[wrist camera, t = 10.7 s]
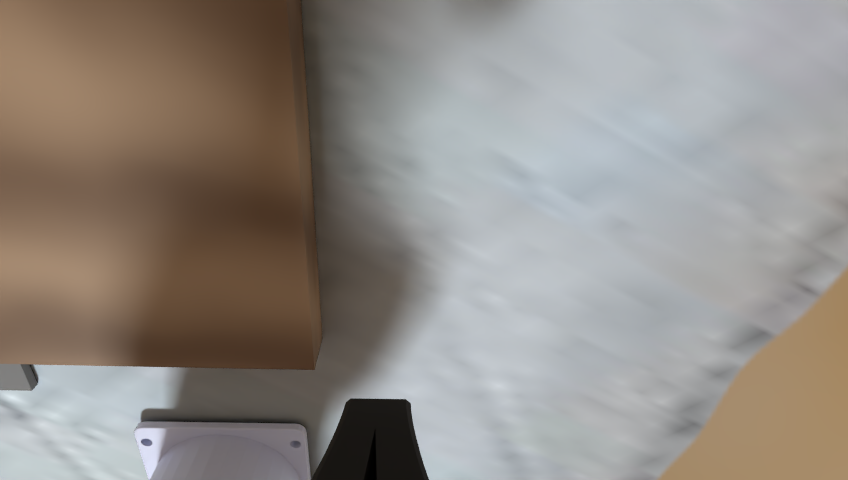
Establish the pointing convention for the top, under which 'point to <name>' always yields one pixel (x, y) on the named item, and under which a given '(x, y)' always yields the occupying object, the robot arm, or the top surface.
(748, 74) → the top surface
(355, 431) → the robot arm
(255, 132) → the brown flat square slab
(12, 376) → the mat
